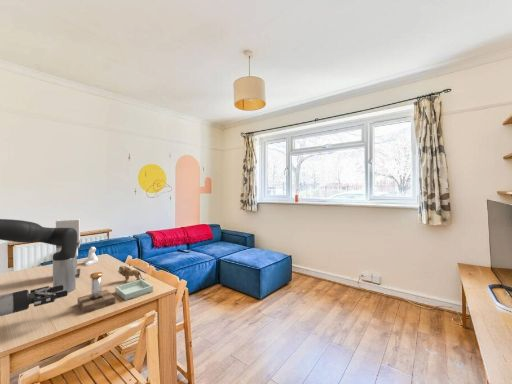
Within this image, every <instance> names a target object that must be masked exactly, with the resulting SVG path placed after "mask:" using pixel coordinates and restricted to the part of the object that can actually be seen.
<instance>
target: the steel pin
mask: <svg viewBox="0 0 512 384" xmlns="http://www.w3.org/2000/svg"><path fill="white" fill-rule="evenodd" d="M89 277H90V279H91V294H92V301H93V300H96V299H100V298H101V291H102V277H103V272H100V271H96V272H93V273H91V274H90V275H89Z"/></svg>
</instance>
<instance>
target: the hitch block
mask: <svg viewBox="0 0 512 384" xmlns="http://www.w3.org/2000/svg"><path fill="white" fill-rule="evenodd" d="M114 304H116V297H115V296H114V295H113V294H112V293H111V292H110V291H109V290H108V289H105V290H101V298H100V299H96V300H93V301H92V293H91V294H87V295H83V296H80V297H77V306H78V307H79V308H80V310H81V311H82V312H83V314H87V313H91V312H94V311H96V310H99V309H103V308H105V307H108V306H112V305H114Z"/></svg>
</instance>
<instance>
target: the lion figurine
mask: <svg viewBox="0 0 512 384" xmlns="http://www.w3.org/2000/svg"><path fill="white" fill-rule="evenodd" d="M117 272H118V274H119V275H121V276H122V277H124V278H125V280H124V283H128V282H129V280H130V277H135V278H136V280H135V281H137V280H141V279H143V280H144V281H146V280H145V278H143V277H142V275H141V271H140V270H139V269H131V268H130V267H129V266H128V267H127V266H126V265H120V266H119V268H118V271H117Z"/></svg>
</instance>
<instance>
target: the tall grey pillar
mask: <svg viewBox="0 0 512 384" xmlns="http://www.w3.org/2000/svg"><path fill="white" fill-rule="evenodd" d="M55 228H74V229H75V230H76V232H77V250H76V253H75V279H77V278H80V275H81V268H78V263H77V262H78V257H79V250H78V249H80V246H81V218H80V217H78V218H77V219H69V220H64V219H63V220H61V218H58V219H57V220H56V221H55ZM61 248H62V245H55V253H57V252H60V251H61Z"/></svg>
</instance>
